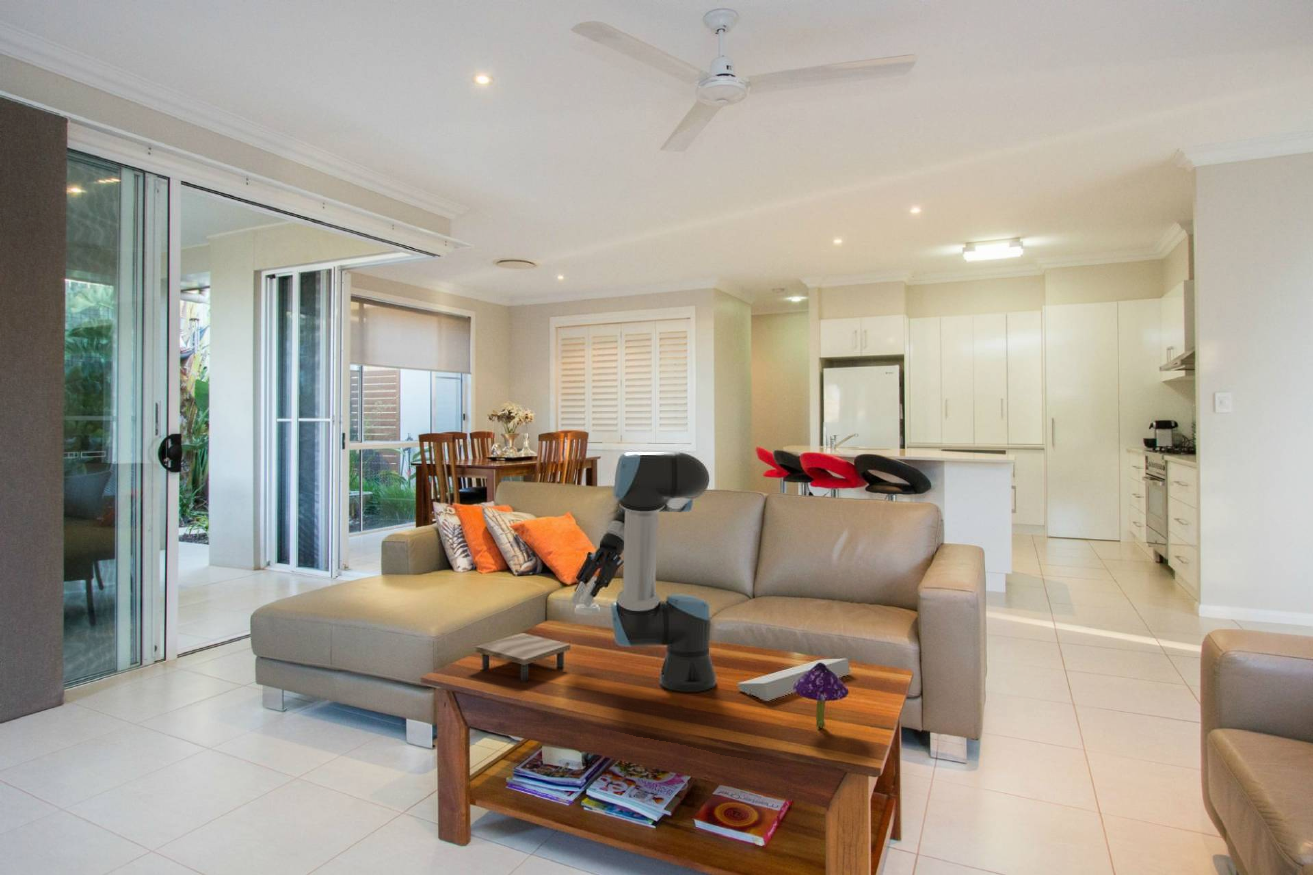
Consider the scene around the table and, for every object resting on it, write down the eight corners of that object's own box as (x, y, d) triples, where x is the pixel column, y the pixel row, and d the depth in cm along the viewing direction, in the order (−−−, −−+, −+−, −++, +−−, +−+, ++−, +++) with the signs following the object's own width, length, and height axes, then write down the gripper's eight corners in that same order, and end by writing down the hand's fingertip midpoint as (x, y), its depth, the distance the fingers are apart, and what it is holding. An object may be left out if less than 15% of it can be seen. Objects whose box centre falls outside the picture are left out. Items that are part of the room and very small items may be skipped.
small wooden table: (570, 666, 202) (570, 644, 202) (524, 683, 187) (524, 659, 187) (522, 654, 213) (522, 633, 213) (475, 669, 199) (475, 646, 199)
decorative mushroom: (822, 744, 150) (822, 675, 150) (781, 725, 160) (781, 660, 160) (860, 731, 157) (860, 665, 157) (818, 713, 167) (819, 651, 167)
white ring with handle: (616, 589, 211) (607, 581, 205) (598, 626, 206) (588, 618, 201) (596, 581, 214) (587, 573, 209) (578, 617, 210) (568, 609, 205)
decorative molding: (740, 702, 182) (767, 703, 174) (737, 683, 183) (764, 683, 176) (823, 676, 203) (851, 676, 195) (820, 659, 204) (847, 658, 197)
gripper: (642, 549, 212) (607, 615, 200) (601, 543, 223) (565, 606, 210) (630, 534, 208) (593, 601, 196) (589, 529, 219) (552, 592, 206)
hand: (579, 603), depth 203 cm, fingers closed on white ring with handle, 4 cm apart
